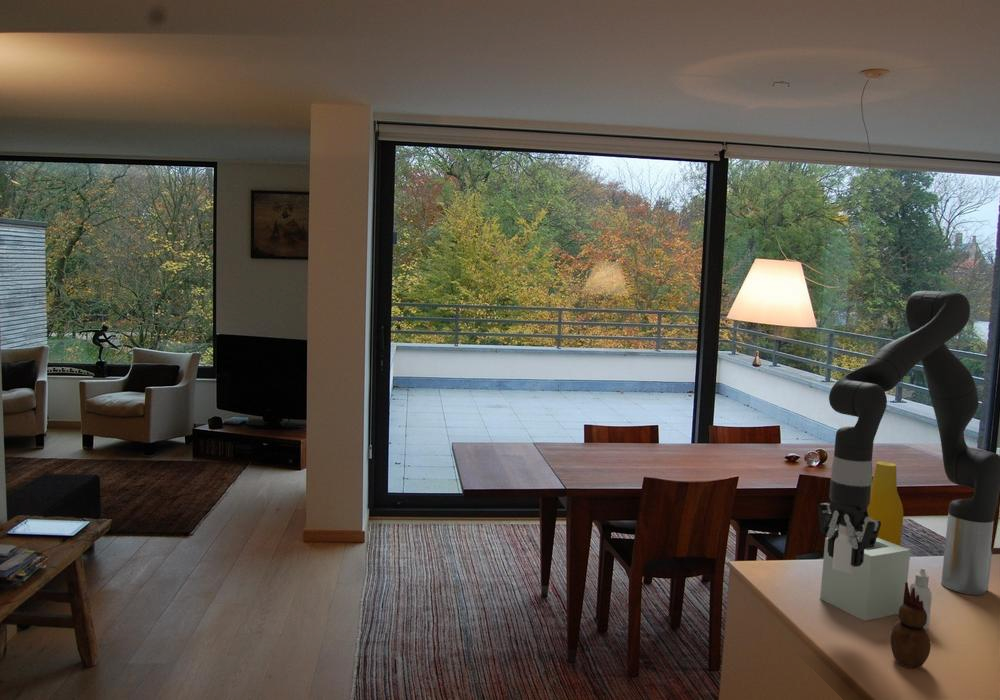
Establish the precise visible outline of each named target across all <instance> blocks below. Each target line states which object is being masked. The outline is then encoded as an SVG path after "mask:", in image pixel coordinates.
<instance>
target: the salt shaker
mask: <svg viewBox="0 0 1000 700" xmlns="http://www.w3.org/2000/svg"><path fill="white" fill-rule="evenodd" d="M855 532H857V530H855ZM838 533H839V536H838V537H837V538H836V539H835V542H834V553H833V566H832V567H833V569H834V570H836V571H840V572H845V573H849V574H851V573H853V572H854V570H855V568H856V567H854V566H852V565H851V557H852V548H854V547H853V544H852V539H851V537H850V536H849V534H848V529H847V526H844V525H841V524H839V530H838Z"/></svg>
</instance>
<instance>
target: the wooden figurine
mask: <svg viewBox="0 0 1000 700" xmlns="http://www.w3.org/2000/svg"><path fill="white" fill-rule="evenodd" d="M897 615H898V619H899V620H898V621H896V622H895V623H894V625H893V626H892V629H891V631H890V637H889V639H890V641H889V643H890V648H891V652H892V655H893V657H894V660H896V662H897V663H898V664H900V665H902V666H905V667H907V668H910V669H917V668H922V667H923V665H924V664H925V662H927V660H928V658H929V656H930V653H931V646H932V645H931V644H932V643H931V639H930V634H928V632H927V629H924V628H923V627H924V626H925V624H926V623H927V614H926V611H925V609H924V607H923V601H920V602H919V595H917V596H916V599H915V588H913V589H912V592H911V595H910V587H909V583H908V581H907V582H906V583H905V591H904V599H903V604H902V605H901V606H900V608H899V613H898V614H897Z"/></svg>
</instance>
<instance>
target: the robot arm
mask: <svg viewBox="0 0 1000 700" xmlns="http://www.w3.org/2000/svg"><path fill="white" fill-rule="evenodd" d="M970 306H971V305H970V302H969V300H968V298H967V297H966V295H964V294H962V293H960V292H957V291H956V292H955V291H944V290H943V291H942V290H919V291H915V292H913V293H911V294H910V296H909V297H908V299H907V301H906V307H905V315H906V321H907V325H908V329H909V332H910V333H908V334H906V335H903V336H901V337H898V338H897V339H894V340H892V341H890V342H889V343H887V344H885V345H884V346H882V347H880V349H879V350H877V352H876V353H874V355H873V356H872V357H871V358H870V359H869V360H868V361H867V362H866V363H865V364H864V365H861V366H859V367H857V368H856V369H854V370H852V371H851V372H849V373H847V374H844V376H842V377H841V378H839V379H838V380H837V381H836V382H835V383H834V384H833V386H832V387H831V390H829V391H830V392H829V396H828V401H829V405H830V407H831V408H832V410H834V411H835V412H837V413H839V414H841V415H847V416H851V417H857V421H856V423H855V425H854V426H843V427H842V426H841V427H839V428H838V429H837V431H836V433H835V440H834V450H833V451H834V454H833V460H832V464H831V474H830V484H829V485H830V487H829V499H830V502H824V503H823V502H821V503H818V504H817V512H818V513H817V514H818V521H819V523H818V524H819V530H820V532H821V533H822V534H824V535H826V538H828V549H827V550H828V553H829V556H830V557H833V553H834V542H835V539H836V538H837V537H838V536H839V533H838V530H839V524H841V525H844V526H847V529H848V534H849V536H850V537H851V539H852V544H853V547H854V548H852V557H851V565H852V566H854V567H857V566H861V564H863V560H864V550H865V549H866V548H872V547H874V545H875V542H876V539H877V536H878V533H879V529H880V526H881V522H880V521H879V520H876V521H874V520H873V519H871V518H870V517H869V515H868V512H867V508H868V505H869V504H870V495H871V485H872V481H873V450H874V442H875V437H876V435H877V433H878V429H879V427H880V424H881V421H882V419H883V417H884V414H885V413H886V409H887V405H888V401H887V399H888V398H887V394H886V392H889V391H891V390H892V389H894V388H895V387H896V386H897V385H898V383H900V382H901V381H902V380H903V379H904V377H905V376H906V375H907V374H908V373H909V372H910V371H911V370H912V369H913V368H914V367H915V366H916V365H917V364H918V363H919V362H921V364H922V367H923V371H924V376H925V379H926V383H927V389H928V393H929V398H930V401H931V406H932V408H933V410H934V416H935V419H936V425H937V429H938V433H939V438H940V444H941V445H940V446H941V453H942V462H943V463H942V464H943V467H944V468H943V470H944V473H945V476H946V477H947V479H948V480H949V481H950V483H953V484H955V485H958V486H961V487H966V488H970V489H973V490H974V492H973V496H972V497H970V498H962V499H961V498H959V499H955V500H954V499H953V500H951V501H950V502H949V506H948V514H947V522H946V523H947V525H946V533H945V543H944V552H943V562H942V572H941V582H940V583H941V585H942V586H943V587H945V588H947V589H949V590H952V591H955V592H958V593H962V594H967V595H973V596H974V595H975V596H977V595H984V594H986V593H987V590H989V584H990V576H991V575H990V573H991V564H992V556H993V551H992V549H991V548H992V541H993V539H992V538H993V530H994V521H995V514H996V511H997V507H998V504H999V497H1000V455H999V454H998V453H995V452H992V451H988V450H984V449H978V448H974V447H969V445H967V443H966V440H965V430H966V429H967V426H968V425H969V424H970V422H971V421H972V419H973V418H974V416H975V414H976V413H977V410H978V408H979V403H980V402H979V396H978V391H977V386H976V383H975V379H974V376H973V375H972V373H971V372H970V370H969V369H968V368H967V366H966V365H965V364H964V363H963V362H962V361H961V360H960V359H959V358H958V357H957V356H956V355H955V354H954V353H953V352H952V351H951V350H950V349H949V348H948V346H947V345H946V343H947V342H948V341H950V340H951V339H953V338H955V336H957V335H958V334H960V332H962V331H963V330H964V329H965V327H966V325H967V324H968V323H969V319H970V316H971V315H970V314H971V307H970ZM864 523H865V526H864ZM865 528H866V529H865ZM855 530H856V532H855ZM858 538H859V541H858Z"/></svg>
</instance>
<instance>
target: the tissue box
mask: <svg viewBox="0 0 1000 700" xmlns="http://www.w3.org/2000/svg"><path fill="white" fill-rule="evenodd" d="M824 540H825V541H824V550H823V562H822V574H821V583H820V585H821V586H820V594H819V596H820V597H819V599H820V600H822V601H824V602H826V603H827V604H830V605H832V606H834V607H836V608H838V609H840V610H842V611H845V612H847V613H848V614H850V615H853V616H855V617H856V616H857V618H858V617H859V618H858V619H860V618H861V620H863V621H865V622H867V621H871V620H876V619H880V618H886V617H889V616H895V615H898V613H899V608H900V606H901V605H902V604H903V599H904V591H905V583H906V582H907V583H908V579H909V571H910V570H909V569H910V559H911V549H909V548H907V547H904V546H901V545H900V546H899V545H896V544H893V543H891V542H888V541H885V540H883V539H880V538H877V539H876V542H875V545H874V547H872V548H866V549H865V550H864V560H863V564H861V566H857V567H856V568H855V570H854V572H853V573H851V574H849V573H845V572H840V571H836V570H834V569H833V567H832V566H833V557H830V556H829V553H828V550H827V549H828V537H825V539H824ZM858 541H859V538H858Z"/></svg>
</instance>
